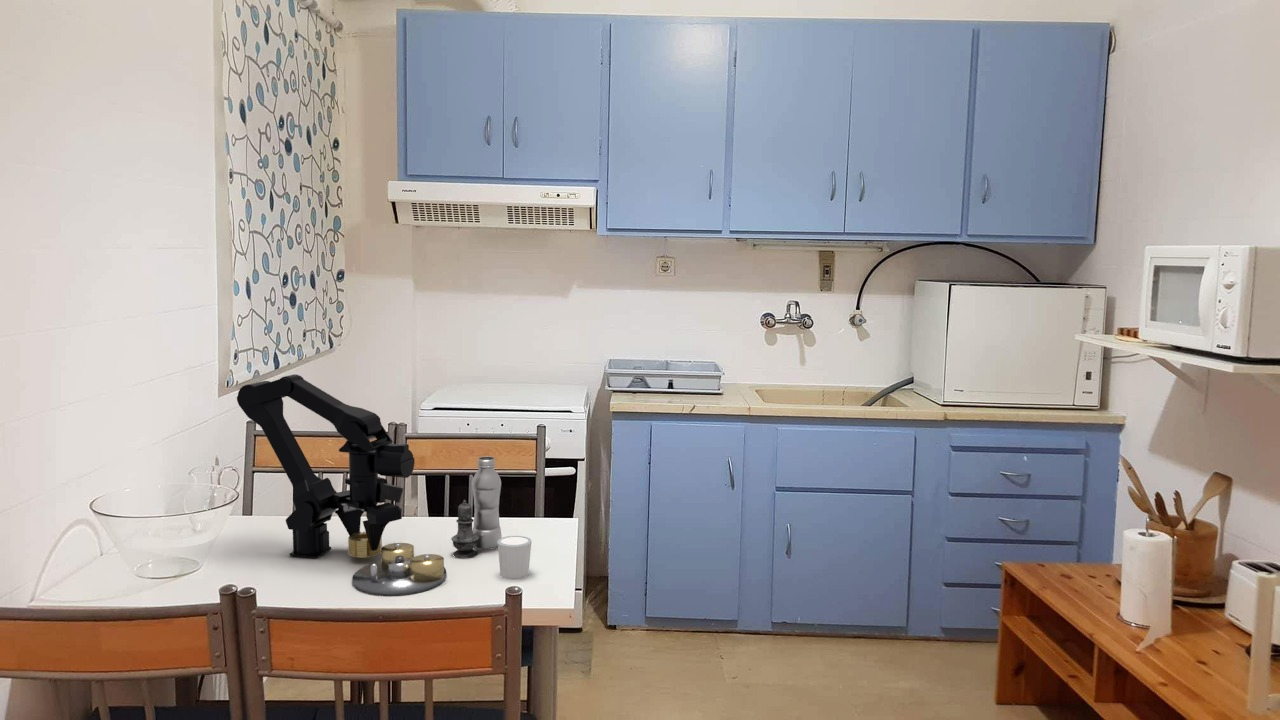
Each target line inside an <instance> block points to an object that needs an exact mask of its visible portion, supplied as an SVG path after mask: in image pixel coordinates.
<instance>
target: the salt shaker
mask: <svg viewBox="0 0 1280 720" xmlns="http://www.w3.org/2000/svg"><path fill="white" fill-rule="evenodd" d="M472 509H473V507H472V505H471V504H470V503H467V501H466V499H463V501H462V503H460V504H459V505H458V506H457V519H456V523H457V533H456V534H455V535H453V536H452V537H451V538H450V540H451V541H452V545H453V547H454V548H455V549H456V550H455V551H454V552H452V555H454V556H455V558H457V557H458V559H468V558H474V557H476V556H478V554H479V552H478V551H477V550H476V549H475V548H476V545H477V543H478V539H479V536H478V535H475V534H473V523H474V518H472V517H473V516H472V515H473V514H472V512H473V511H472ZM454 556H453V557H454Z"/></svg>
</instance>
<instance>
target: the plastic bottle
mask: <svg viewBox="0 0 1280 720" xmlns="http://www.w3.org/2000/svg"><path fill="white" fill-rule="evenodd" d="M495 459H496V458H495V457H493V456H489V455H488V456H487V455H486V456H480V457H478V458H477V468H478V470H477V471H476V472H475V474H474V476H473V478H472V480H471V489H472V495H473V506H474V513H473V515H474V516H473V520H474V521H473V526H472V530H473V534H475V535H478V536H479V539H478V543H477V545H476V547H475V548H476V549H478V550H491V549H492V550H493V549H496V548H498V542H497V541H498V540H499V539H500V538H503V537H502V529H501V525H500V513H499V511H500V510H499V509H500V507H499V506H500V496H501V489H502V480H501V477H500V476H499V473H498V472H497V471H496V470H495V467H496V461H495Z"/></svg>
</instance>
